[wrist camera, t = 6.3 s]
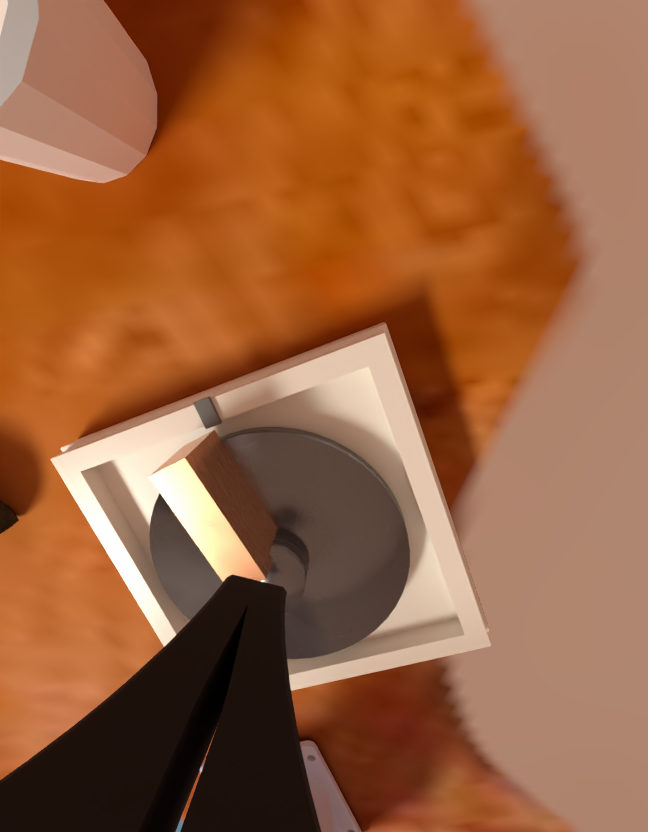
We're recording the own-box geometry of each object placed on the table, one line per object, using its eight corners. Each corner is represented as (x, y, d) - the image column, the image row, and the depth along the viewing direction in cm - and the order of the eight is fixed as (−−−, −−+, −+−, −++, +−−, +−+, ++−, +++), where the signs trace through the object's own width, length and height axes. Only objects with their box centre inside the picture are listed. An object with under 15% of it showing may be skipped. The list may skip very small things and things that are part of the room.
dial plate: (482, 613, 21) (498, 652, 19) (214, 676, 24) (199, 717, 22) (384, 321, 17) (388, 326, 15) (77, 439, 20) (41, 458, 18)
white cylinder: (-20, 1, 15) (-326, -235, 8) (157, -22, 14) (-19, -298, 8) (29, 206, 17) (-184, 150, 10) (186, 193, 16) (67, 124, 10)
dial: (450, 597, 19) (471, 668, 15) (241, 673, 22) (218, 750, 18) (324, 368, 16) (315, 389, 13) (102, 486, 19) (41, 532, 15)
